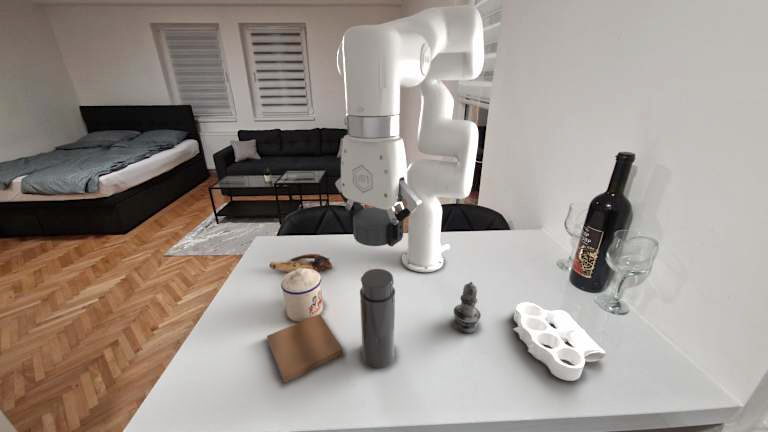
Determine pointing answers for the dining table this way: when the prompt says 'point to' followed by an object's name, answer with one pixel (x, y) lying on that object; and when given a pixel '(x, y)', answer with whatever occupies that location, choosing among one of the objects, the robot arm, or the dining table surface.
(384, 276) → the thermos
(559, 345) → the white brass knuckles
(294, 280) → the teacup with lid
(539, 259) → the dining table surface
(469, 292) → the dark stone figurine
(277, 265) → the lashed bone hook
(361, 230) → the thermos lid
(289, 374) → the coaster
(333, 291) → the dining table surface
